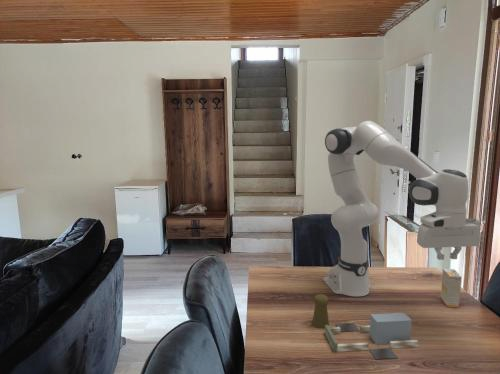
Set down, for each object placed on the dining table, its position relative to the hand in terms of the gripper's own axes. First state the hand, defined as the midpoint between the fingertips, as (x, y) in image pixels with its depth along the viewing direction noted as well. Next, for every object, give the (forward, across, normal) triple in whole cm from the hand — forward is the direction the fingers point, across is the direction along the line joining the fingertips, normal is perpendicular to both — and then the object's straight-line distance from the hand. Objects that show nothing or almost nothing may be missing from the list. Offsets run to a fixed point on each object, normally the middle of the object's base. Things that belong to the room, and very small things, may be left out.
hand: (446, 259), depth 122 cm
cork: (+27, +40, -10) cm, 49 cm away
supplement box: (+27, -17, -21) cm, 39 cm away
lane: (+27, +26, +2) cm, 38 cm away
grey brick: (+27, +19, +2) cm, 33 cm away
